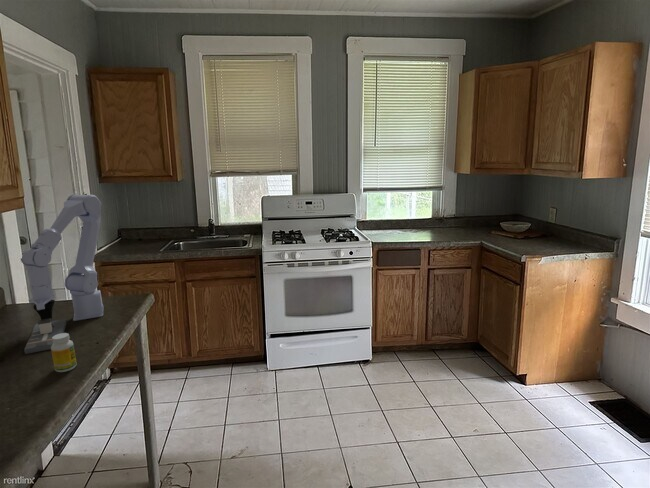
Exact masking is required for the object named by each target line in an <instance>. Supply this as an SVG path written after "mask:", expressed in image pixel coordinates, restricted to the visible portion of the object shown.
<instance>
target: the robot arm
mask: <svg viewBox="0 0 650 488" xmlns="http://www.w3.org/2000/svg"><path fill="white" fill-rule="evenodd" d="M102 205H103V203H102V202H101V200H100V199H99V198H98V196H96V195H94V194H70V195H69V196H68V197H67V199H66V200H65V201H64V202H63V208H62V209H61V211H60V213H59V214H58V216H57V217H56V219H55V220H54V222H53V224H52V225H51V227H50V228H46V229H43V230H41V231H40V232H39V236H38V237H37V239H36V240H35V241H34V242H33V243H32V244H31V247H30V248H27V249H25V250H24V251H23V252H22V254H21V258H20V261H21V263H22V264H23V265H24V267H25V269H26V271H27V274H28V275H27V276H28V280H29V285H30V291H31V297H29V299H28V302H29V303H33V304H34V305H33V306H32V307H33V310H35V311H36V313H37V314H38V315H39V317H40V320H42V319H49V318H51V322H52V321H53V309H54V304H55V302H56V301H55V295H54V292H53V286H52V281H51V274H50V270H49V269H50V268H49V263H51V262H52V255H53V252H54V250H55V248H56V247H58V245H59V243H60V242H61V240H62V233H63V231H64V230H65V229H66V228H67V226H69V224H70V223H71V222H72V221H73V220H74V219H75V218H76V217H78V218H79V219H80V220H81V222H82V226H81V227H82V229H81V233H80V239H79V243H78V249H77V253H76V254H77V255H76V260H75V264H74V266H72V267H71V268H70V269H69V270H68V274H67V275H66V277H65V279H64V287H65V289H66V290H67V291H68V292H69V293H70V295H71V301H72V306H73V312H74V314H73V319H72V321H73V322H76V321H83V320H87V319H93V318H100V317H103V316H104V304H103V299H102V293H101V290H100V289H99V290H96V289H97V287H98V285H99V282H98V272H97V271H96V270H95V269H94V261H95V256H96V249H97V246H98V245H97V244H98V239H99V234H100V230H101V229H100V227H101V223H102V216H101V215H102V214H101V211H102Z"/></svg>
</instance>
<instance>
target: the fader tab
mask: <svg viewBox="0 0 650 488" xmlns="http://www.w3.org/2000/svg"><path fill="white" fill-rule="evenodd" d="M37 324H38V325H39V328H40V334H45V333H51V332H52V325H51V318H49V319H42V320H41V319H38V321H37Z"/></svg>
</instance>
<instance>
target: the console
mask: <svg viewBox="0 0 650 488" xmlns="http://www.w3.org/2000/svg"><path fill="white" fill-rule="evenodd" d="M67 323H68V322H67V318H63V319H58V320H57V319H56V320H52V322H51V325H52V332H51V333H45V334H40V328H39V325H38V323H36V324H35V325H34V327H33V329H32V330H31V334H30V336H29V338H28V340H27V342H26V345H25V347H24V351H23V352H24V354H25V355H28V354H32V353H38V352H43V351H48V350H51V346H52V344H53V342H52V337H53V336H55V335H57V334H61V333H65V331H66V327H67Z"/></svg>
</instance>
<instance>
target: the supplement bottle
mask: <svg viewBox="0 0 650 488" xmlns="http://www.w3.org/2000/svg"><path fill="white" fill-rule="evenodd" d="M70 339H71V337H70V334H69V332H68V333H67V332H64V333H61V334H57V335H55V336H53V337H52V342H53V344H52V346H51V349H50V352H51V357H52V363H53V367H54V371H55V372H56V373H65V372H70V371H72V370H73V369H75V368H76V366H77V365H78V364H77V358H76V352H75V345H74V342H73V340H70Z"/></svg>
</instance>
